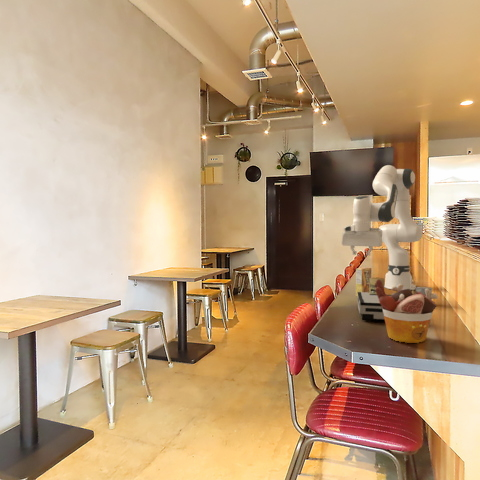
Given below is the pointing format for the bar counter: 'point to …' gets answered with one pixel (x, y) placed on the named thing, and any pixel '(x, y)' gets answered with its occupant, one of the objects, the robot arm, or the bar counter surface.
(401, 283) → the robot arm
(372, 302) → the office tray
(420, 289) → the grey small irregular piece
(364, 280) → the candy box
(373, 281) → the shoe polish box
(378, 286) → the bucket of meat
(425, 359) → the bar counter surface
